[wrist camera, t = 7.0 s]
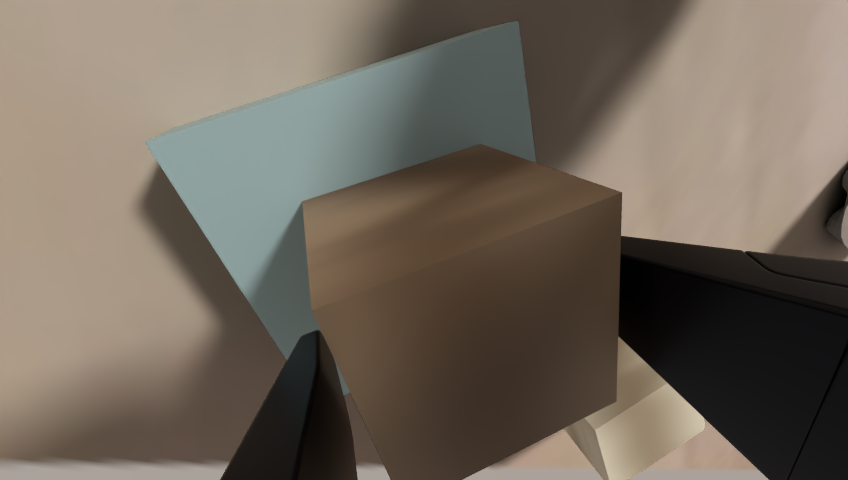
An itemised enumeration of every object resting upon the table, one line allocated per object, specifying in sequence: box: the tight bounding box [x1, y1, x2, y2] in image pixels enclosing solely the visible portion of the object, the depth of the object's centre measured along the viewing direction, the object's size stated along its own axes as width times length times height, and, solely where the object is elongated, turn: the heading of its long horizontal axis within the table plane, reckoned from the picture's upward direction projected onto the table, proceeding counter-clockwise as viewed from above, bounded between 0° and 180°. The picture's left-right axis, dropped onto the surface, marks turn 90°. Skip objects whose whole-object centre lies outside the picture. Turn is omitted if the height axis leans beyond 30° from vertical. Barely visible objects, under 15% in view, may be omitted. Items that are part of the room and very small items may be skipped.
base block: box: [145, 21, 536, 395], centre depth 12 cm, size 9×9×3 cm
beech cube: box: [564, 337, 705, 480], centre depth 17 cm, size 5×5×5 cm
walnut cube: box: [302, 144, 622, 480], centre depth 9 cm, size 5×5×5 cm
